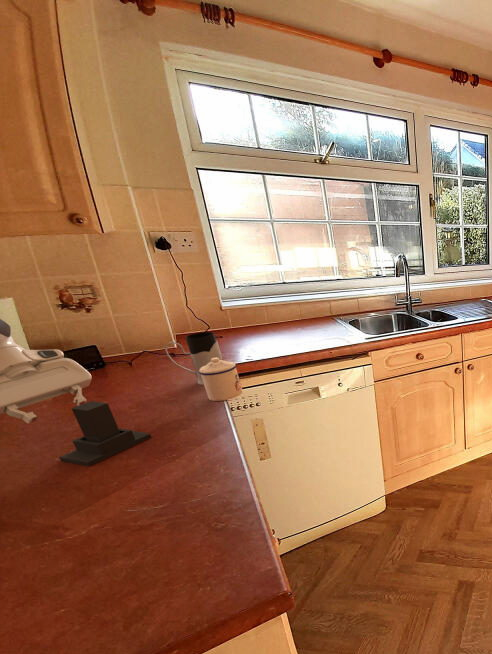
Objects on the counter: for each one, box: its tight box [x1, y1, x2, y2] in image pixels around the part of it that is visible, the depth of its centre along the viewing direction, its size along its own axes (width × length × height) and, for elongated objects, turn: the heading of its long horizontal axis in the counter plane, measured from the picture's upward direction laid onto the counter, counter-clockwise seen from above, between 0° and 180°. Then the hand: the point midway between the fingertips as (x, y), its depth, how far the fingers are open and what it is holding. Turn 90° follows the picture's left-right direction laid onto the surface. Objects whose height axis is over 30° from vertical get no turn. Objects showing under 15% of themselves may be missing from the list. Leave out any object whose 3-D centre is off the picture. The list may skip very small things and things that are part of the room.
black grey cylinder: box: [164, 331, 224, 386], centre depth 134 cm, size 9×14×15 cm, turn 114°
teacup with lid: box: [199, 358, 244, 402], centre depth 124 cm, size 12×9×12 cm
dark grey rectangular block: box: [71, 400, 121, 443], centre depth 95 cm, size 4×5×10 cm
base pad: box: [59, 427, 152, 467], centre depth 97 cm, size 13×9×4 cm
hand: (59, 411), depth 98 cm, fingers open, 8 cm apart
